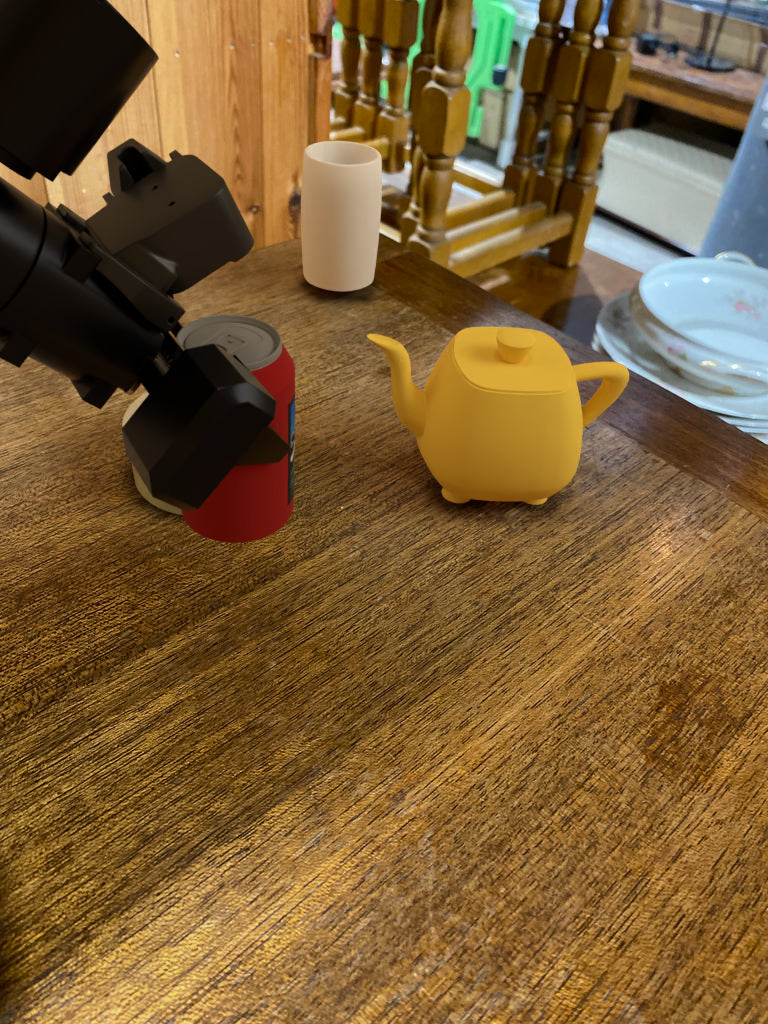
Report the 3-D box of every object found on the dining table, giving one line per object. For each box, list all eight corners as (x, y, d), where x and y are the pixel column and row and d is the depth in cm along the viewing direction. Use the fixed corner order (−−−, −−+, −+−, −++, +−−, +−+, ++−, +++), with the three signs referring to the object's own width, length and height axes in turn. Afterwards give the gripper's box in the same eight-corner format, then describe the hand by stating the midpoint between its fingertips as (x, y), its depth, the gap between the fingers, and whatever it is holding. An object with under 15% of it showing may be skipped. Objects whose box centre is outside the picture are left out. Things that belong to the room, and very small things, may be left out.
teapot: (357, 418, 68) (364, 286, 60) (579, 425, 70) (616, 297, 62) (360, 522, 58) (370, 380, 50) (619, 527, 60) (670, 391, 52)
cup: (329, 310, 83) (333, 172, 74) (285, 279, 88) (283, 146, 78) (391, 291, 87) (402, 159, 78) (346, 263, 92) (351, 135, 82)
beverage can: (316, 509, 49) (322, 337, 41) (243, 570, 44) (234, 390, 36) (234, 466, 51) (225, 296, 43) (157, 519, 47) (131, 341, 39)
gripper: (216, 180, 25) (448, 393, 37) (55, 46, 36) (273, 243, 48) (12, 443, 26) (298, 565, 39) (-81, 236, 38) (163, 381, 50)
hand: (256, 420), depth 44 cm, fingers closed on beverage can, 7 cm apart
